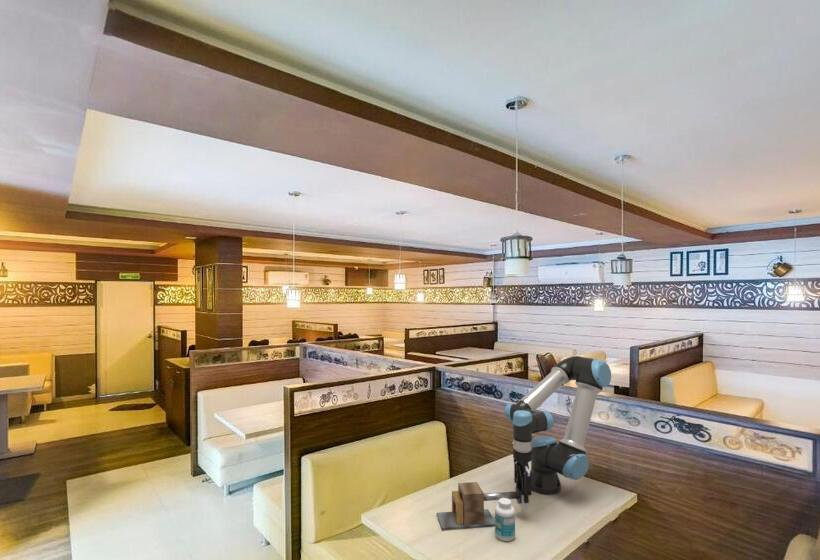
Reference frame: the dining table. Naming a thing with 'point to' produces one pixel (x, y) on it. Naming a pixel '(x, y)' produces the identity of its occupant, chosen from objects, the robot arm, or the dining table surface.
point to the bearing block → (468, 510)
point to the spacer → (457, 507)
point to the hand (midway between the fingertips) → (522, 506)
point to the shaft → (505, 495)
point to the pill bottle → (505, 520)
